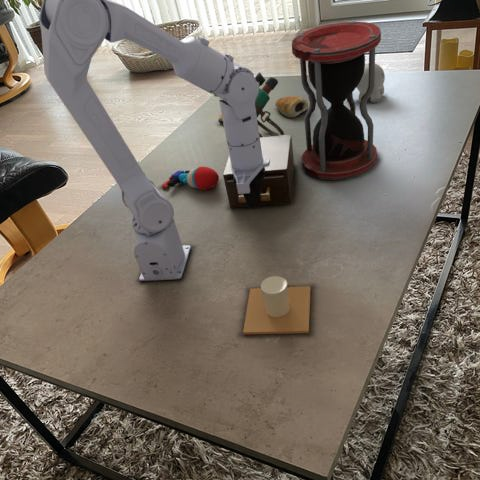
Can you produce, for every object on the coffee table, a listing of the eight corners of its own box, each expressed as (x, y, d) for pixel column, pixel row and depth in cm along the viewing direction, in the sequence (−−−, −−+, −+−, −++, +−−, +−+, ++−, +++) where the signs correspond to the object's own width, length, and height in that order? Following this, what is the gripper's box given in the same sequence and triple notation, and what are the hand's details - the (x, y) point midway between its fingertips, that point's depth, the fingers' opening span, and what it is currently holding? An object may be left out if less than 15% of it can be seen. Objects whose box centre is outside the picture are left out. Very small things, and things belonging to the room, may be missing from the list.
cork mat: (308, 333, 73) (308, 331, 72) (243, 334, 75) (242, 332, 74) (310, 288, 79) (310, 285, 79) (250, 290, 82) (250, 288, 81)
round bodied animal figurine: (343, 92, 132) (342, 58, 126) (387, 93, 126) (389, 58, 121) (333, 103, 128) (332, 69, 122) (379, 105, 122) (380, 69, 116)
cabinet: (290, 203, 98) (286, 169, 93) (230, 208, 101) (222, 174, 95) (294, 166, 108) (291, 134, 103) (239, 172, 111) (233, 140, 105)
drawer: (285, 214, 94) (282, 187, 90) (228, 218, 96) (222, 192, 92) (290, 168, 106) (288, 143, 102) (239, 173, 108) (235, 148, 104)
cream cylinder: (288, 317, 75) (285, 293, 71) (263, 317, 76) (258, 293, 72) (291, 299, 78) (288, 275, 74) (266, 299, 79) (262, 276, 75)
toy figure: (162, 195, 112) (210, 196, 103) (154, 175, 109) (203, 174, 100) (182, 181, 116) (231, 180, 107) (175, 161, 114) (224, 159, 105)
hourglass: (322, 139, 115) (316, 20, 97) (388, 148, 107) (395, 20, 89) (288, 174, 106) (275, 50, 89) (357, 186, 98) (357, 52, 81)
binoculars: (243, 147, 126) (207, 108, 115) (278, 103, 124) (244, 59, 113) (273, 166, 116) (236, 125, 106) (311, 118, 114) (278, 72, 104)
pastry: (270, 110, 131) (268, 96, 129) (289, 101, 133) (288, 87, 131) (291, 119, 125) (290, 104, 123) (311, 110, 127) (310, 95, 125)
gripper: (261, 157, 78) (272, 227, 87) (269, 118, 88) (278, 185, 97) (219, 161, 79) (233, 230, 89) (231, 122, 89) (243, 187, 99)
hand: (254, 206), depth 93 cm, fingers closed
